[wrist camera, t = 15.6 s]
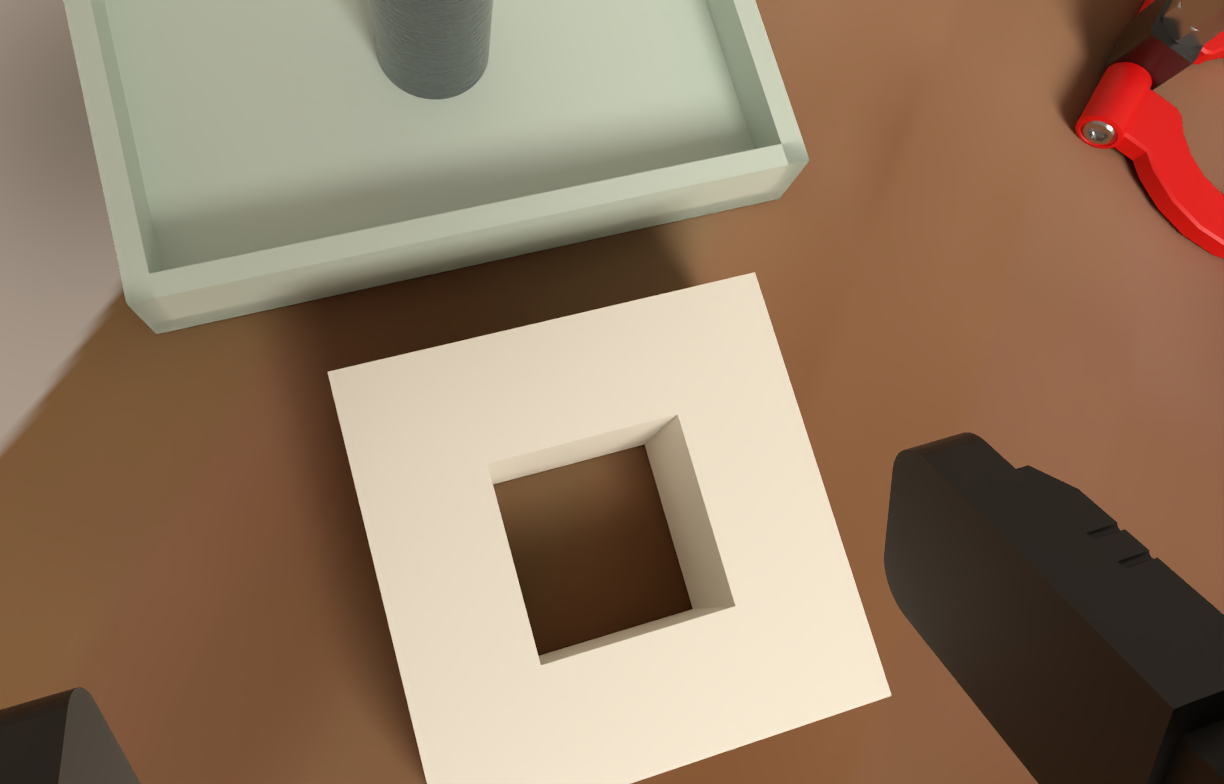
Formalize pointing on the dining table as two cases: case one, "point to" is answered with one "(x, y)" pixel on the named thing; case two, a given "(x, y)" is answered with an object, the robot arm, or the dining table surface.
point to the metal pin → (432, 44)
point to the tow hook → (1160, 111)
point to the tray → (409, 141)
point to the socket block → (695, 512)
